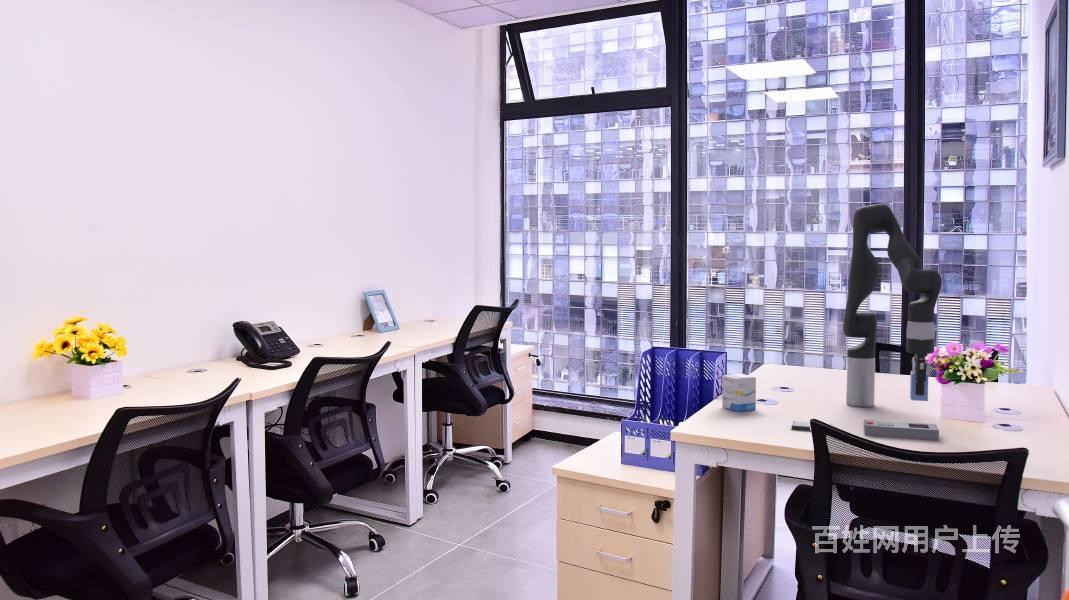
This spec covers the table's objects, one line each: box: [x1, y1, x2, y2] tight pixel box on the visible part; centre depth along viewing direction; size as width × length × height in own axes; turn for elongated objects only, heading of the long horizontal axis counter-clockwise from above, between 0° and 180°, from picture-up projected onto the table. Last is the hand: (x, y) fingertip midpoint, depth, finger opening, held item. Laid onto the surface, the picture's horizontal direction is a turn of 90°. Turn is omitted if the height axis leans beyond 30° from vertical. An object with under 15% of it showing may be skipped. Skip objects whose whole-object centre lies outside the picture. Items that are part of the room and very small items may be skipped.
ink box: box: [721, 373, 757, 412], centre depth 275 cm, size 9×8×12 cm
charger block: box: [909, 370, 929, 402], centre depth 233 cm, size 4×4×8 cm
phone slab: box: [791, 420, 834, 432], centre depth 245 cm, size 7×12×1 cm, turn 69°
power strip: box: [863, 419, 940, 441], centre depth 236 cm, size 8×20×4 cm, turn 69°
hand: (919, 393), depth 233 cm, fingers closed on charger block, 4 cm apart
